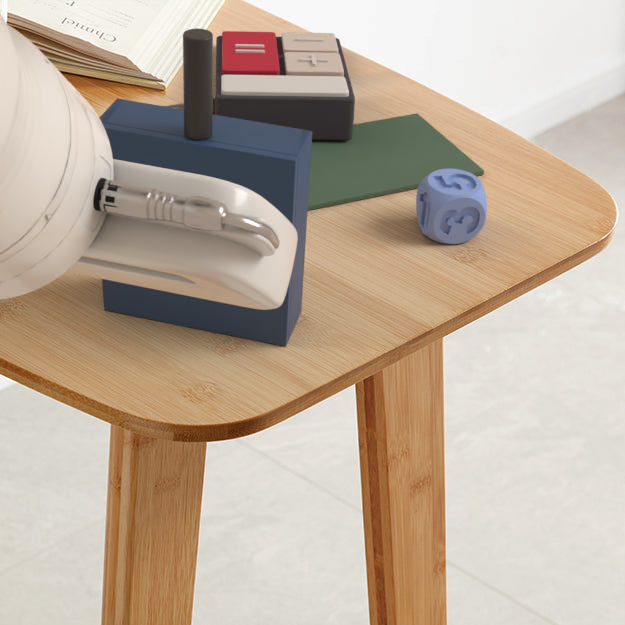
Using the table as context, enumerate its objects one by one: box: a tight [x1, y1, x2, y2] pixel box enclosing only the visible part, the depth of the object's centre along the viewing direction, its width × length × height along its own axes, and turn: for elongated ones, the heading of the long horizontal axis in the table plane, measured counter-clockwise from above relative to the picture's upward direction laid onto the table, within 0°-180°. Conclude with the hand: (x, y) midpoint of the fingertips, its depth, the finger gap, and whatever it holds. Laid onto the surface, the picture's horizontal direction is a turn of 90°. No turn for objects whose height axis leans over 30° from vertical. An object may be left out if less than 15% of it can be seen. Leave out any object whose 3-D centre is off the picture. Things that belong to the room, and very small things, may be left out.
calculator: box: [214, 30, 356, 140], centre depth 96 cm, size 11×4×15 cm
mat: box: [308, 112, 485, 211], centre depth 88 cm, size 24×10×1 cm, turn 116°
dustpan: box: [99, 28, 312, 347], centre depth 67 cm, size 4×12×19 cm, turn 76°
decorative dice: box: [415, 169, 488, 245], centre depth 81 cm, size 4×4×4 cm
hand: (103, 255), depth 53 cm, fingers closed
